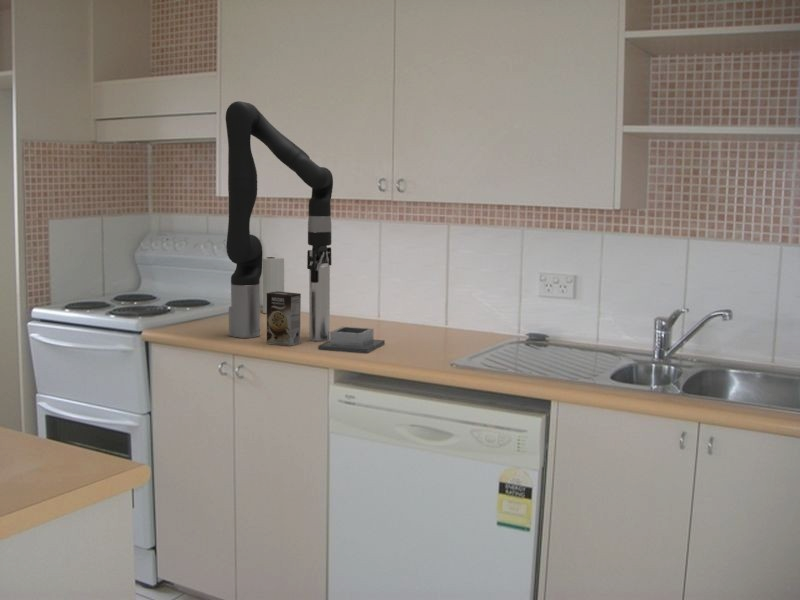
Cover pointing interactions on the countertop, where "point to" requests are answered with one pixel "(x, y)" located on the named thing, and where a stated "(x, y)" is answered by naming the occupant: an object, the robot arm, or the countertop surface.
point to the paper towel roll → (272, 277)
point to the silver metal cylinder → (319, 305)
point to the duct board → (352, 340)
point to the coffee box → (283, 318)
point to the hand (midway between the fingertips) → (319, 281)
